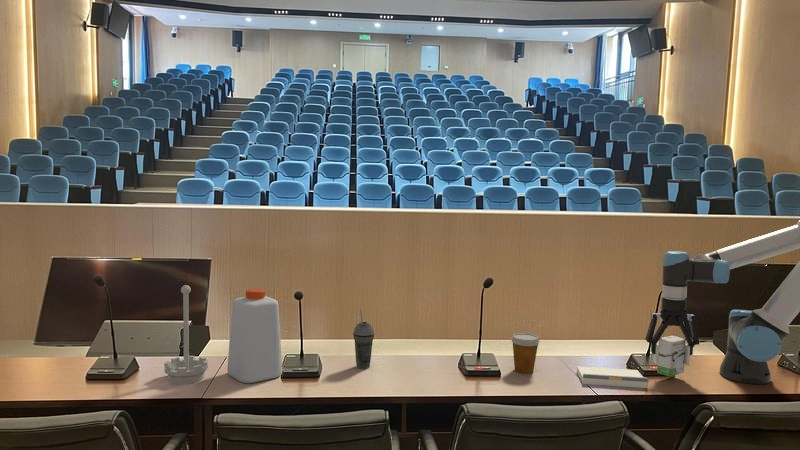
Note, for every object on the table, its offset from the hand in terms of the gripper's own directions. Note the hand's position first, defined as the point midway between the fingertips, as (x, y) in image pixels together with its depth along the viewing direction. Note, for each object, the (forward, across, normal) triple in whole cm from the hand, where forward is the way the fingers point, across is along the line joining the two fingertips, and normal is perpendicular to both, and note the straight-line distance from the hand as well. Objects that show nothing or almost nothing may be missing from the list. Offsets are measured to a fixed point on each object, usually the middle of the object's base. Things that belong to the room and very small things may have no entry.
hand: (671, 363), depth 201 cm
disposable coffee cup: (+5, +48, +1) cm, 49 cm away
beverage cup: (+4, +104, +8) cm, 104 cm away
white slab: (+5, +20, +5) cm, 22 cm away
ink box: (+3, 0, 0) cm, 3 cm away
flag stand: (+3, +156, +30) cm, 159 cm away
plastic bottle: (+3, +136, +23) cm, 138 cm away
